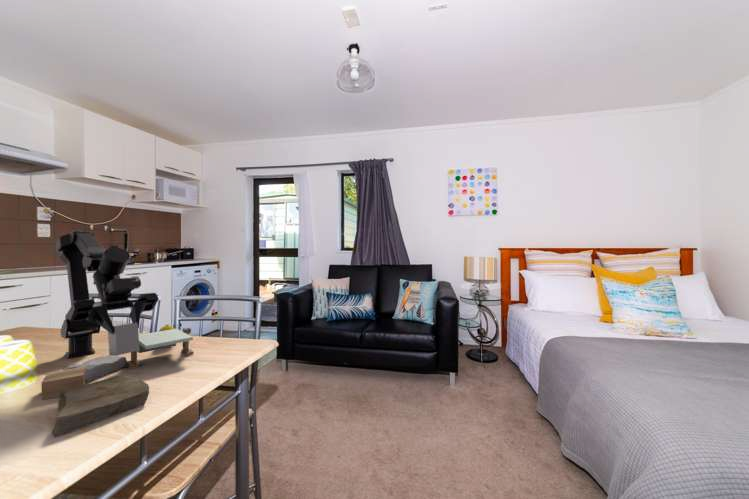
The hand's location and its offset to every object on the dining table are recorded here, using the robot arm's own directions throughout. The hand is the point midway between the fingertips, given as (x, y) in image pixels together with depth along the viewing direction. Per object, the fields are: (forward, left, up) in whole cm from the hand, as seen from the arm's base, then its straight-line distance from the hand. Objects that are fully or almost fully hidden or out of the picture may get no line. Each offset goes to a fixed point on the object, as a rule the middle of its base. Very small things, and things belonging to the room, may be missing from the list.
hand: (125, 330), depth 84 cm
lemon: (-22, +16, -13) cm, 30 cm away
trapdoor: (-8, +11, -10) cm, 17 cm away
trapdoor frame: (-10, +11, -13) cm, 19 cm away
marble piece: (+15, -7, -13) cm, 21 cm away
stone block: (-11, -5, -13) cm, 18 cm away
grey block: (-1, 0, -6) cm, 6 cm away
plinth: (-2, -11, -13) cm, 17 cm away
